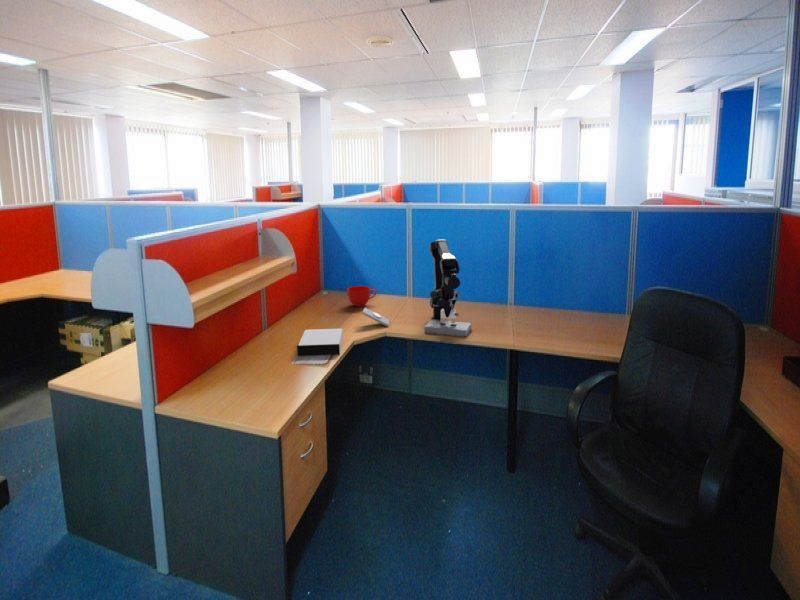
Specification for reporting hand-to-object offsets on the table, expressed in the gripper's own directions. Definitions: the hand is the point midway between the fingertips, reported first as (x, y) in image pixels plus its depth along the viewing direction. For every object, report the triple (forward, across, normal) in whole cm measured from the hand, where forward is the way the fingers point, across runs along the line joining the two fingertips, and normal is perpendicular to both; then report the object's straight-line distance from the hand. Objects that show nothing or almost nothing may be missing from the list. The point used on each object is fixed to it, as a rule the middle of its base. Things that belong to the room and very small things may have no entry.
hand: (448, 316), depth 228 cm
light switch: (+8, +1, -37) cm, 38 cm away
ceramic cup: (+8, -31, -59) cm, 67 cm away
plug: (+3, 0, 0) cm, 3 cm away
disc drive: (+8, +37, -48) cm, 61 cm away
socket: (+7, 0, 0) cm, 7 cm away
